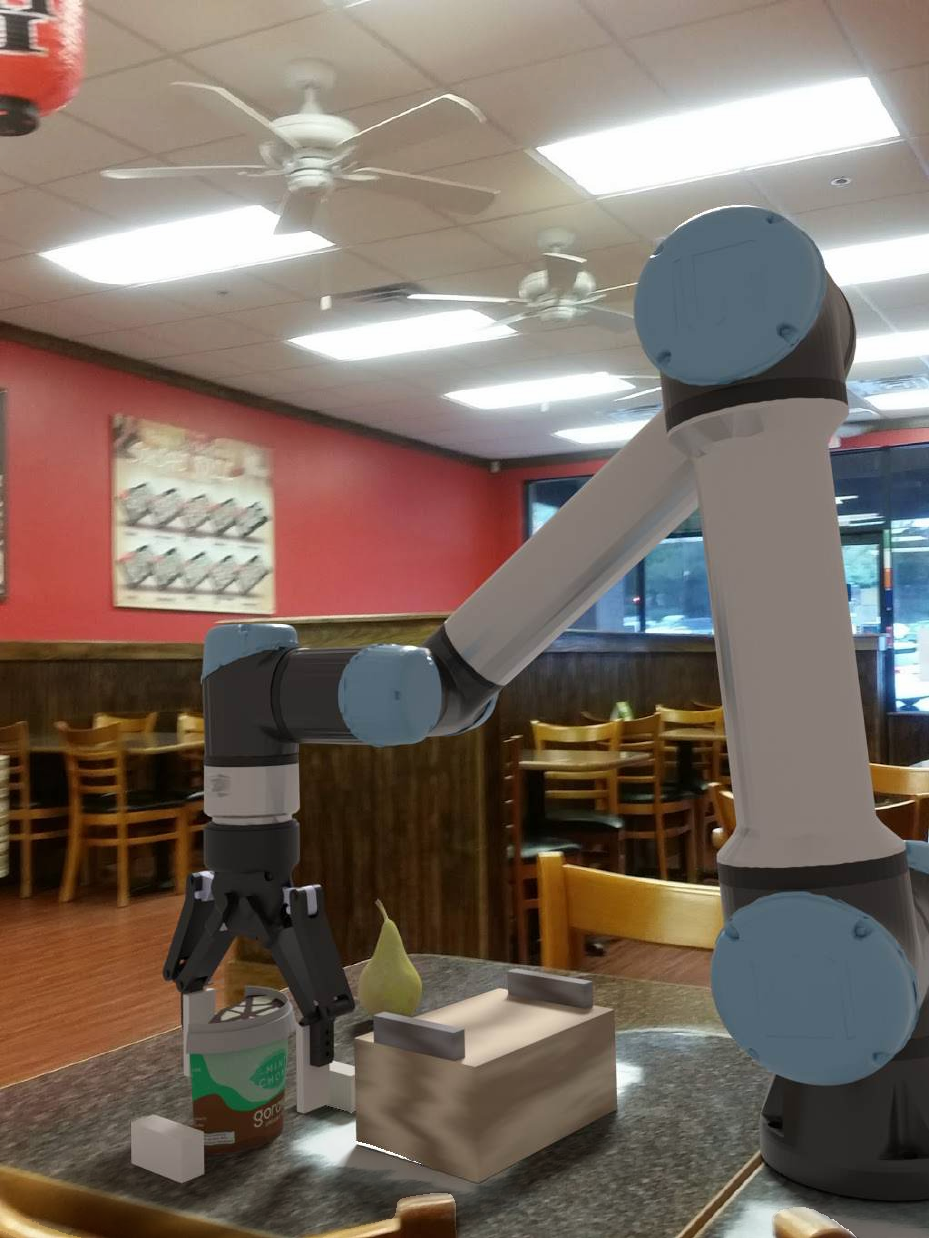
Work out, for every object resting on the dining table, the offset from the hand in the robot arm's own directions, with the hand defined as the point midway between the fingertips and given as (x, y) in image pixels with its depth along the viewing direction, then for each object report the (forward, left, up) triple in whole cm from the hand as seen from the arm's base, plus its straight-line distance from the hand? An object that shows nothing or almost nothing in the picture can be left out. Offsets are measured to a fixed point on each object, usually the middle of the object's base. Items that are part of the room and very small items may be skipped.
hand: (254, 1089), depth 95 cm
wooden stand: (-14, -12, -3) cm, 19 cm away
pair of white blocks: (0, 0, -3) cm, 3 cm away
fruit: (+13, -29, -4) cm, 32 cm away
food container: (0, 0, -4) cm, 4 cm away
